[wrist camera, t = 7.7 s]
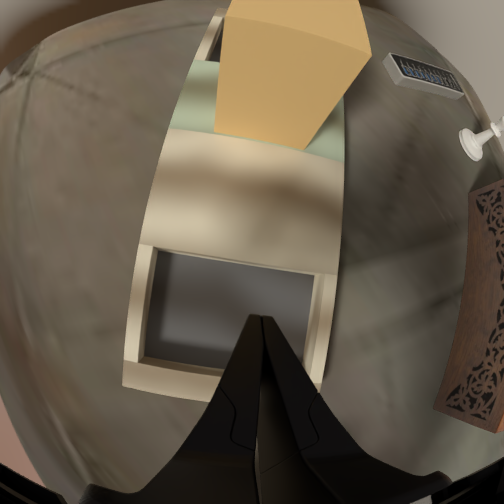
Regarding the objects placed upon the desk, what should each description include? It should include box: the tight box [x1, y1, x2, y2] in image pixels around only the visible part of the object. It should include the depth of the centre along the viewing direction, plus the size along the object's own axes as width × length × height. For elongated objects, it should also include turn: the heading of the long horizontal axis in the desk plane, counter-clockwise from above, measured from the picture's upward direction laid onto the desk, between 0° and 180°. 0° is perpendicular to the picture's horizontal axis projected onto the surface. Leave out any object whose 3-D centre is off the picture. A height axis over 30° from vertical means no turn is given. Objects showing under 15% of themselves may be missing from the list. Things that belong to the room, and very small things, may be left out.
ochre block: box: [214, 0, 372, 150], centre depth 16 cm, size 7×7×11 cm
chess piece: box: [459, 116, 504, 161], centre depth 23 cm, size 5×5×10 cm
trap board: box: [122, 8, 344, 402], centre depth 21 cm, size 37×14×2 cm, turn 172°
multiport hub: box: [382, 53, 464, 100], centre depth 28 cm, size 4×14×2 cm, turn 101°
